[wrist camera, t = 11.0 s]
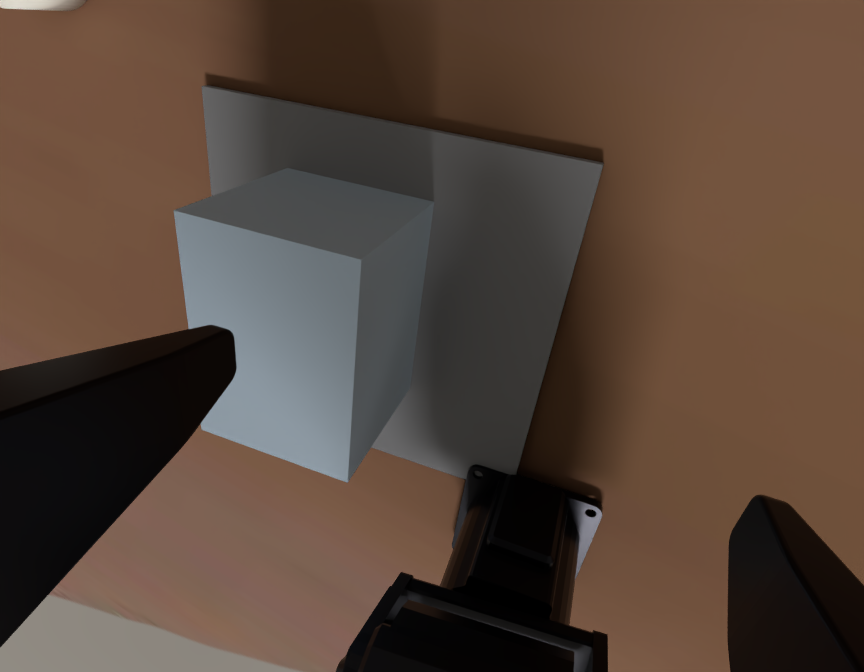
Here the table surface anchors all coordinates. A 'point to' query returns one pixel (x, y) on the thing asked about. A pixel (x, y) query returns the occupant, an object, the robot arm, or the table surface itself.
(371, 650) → the robot arm
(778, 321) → the table surface
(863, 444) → the table surface
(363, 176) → the mat
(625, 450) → the table surface
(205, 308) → the grey rectangular block
